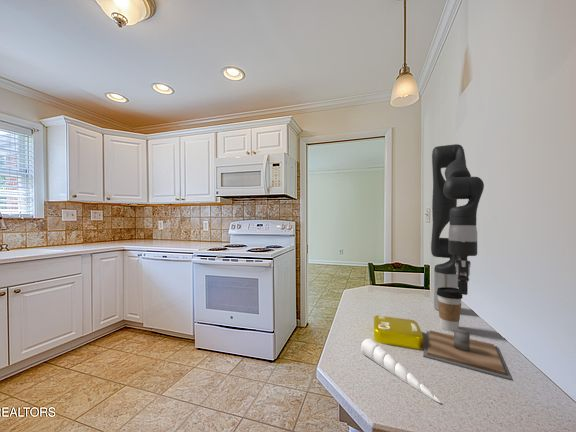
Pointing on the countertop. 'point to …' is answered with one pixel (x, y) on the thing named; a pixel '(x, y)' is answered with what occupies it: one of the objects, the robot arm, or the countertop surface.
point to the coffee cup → (449, 307)
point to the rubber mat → (467, 365)
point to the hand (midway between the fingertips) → (462, 291)
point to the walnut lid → (464, 350)
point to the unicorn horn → (393, 366)
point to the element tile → (397, 332)
